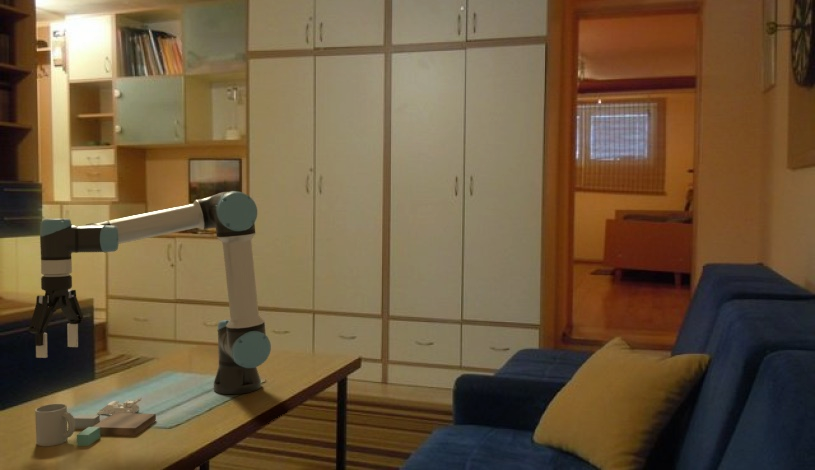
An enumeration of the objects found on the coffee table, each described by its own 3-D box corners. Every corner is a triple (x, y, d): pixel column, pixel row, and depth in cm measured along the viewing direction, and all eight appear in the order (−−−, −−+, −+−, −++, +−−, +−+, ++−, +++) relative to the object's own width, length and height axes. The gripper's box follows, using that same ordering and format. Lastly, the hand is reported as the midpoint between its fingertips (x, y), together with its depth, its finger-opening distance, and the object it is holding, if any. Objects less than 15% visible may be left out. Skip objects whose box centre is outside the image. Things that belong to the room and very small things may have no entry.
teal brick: (89, 438, 181) (88, 426, 180) (100, 438, 180) (100, 427, 180) (77, 446, 175) (76, 434, 174) (88, 446, 174) (88, 434, 174)
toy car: (104, 409, 205) (104, 395, 205) (144, 410, 205) (144, 396, 204) (94, 416, 199) (94, 401, 199) (135, 416, 199) (135, 402, 198)
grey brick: (99, 425, 190) (99, 414, 190) (94, 429, 188) (94, 418, 187) (78, 425, 191) (78, 414, 190) (72, 429, 188) (72, 418, 187)
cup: (48, 436, 181) (47, 403, 181) (83, 438, 180) (82, 404, 180) (29, 446, 174) (28, 411, 174) (66, 447, 173) (65, 413, 172)
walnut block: (155, 420, 194) (155, 413, 193) (135, 435, 182) (135, 428, 182) (115, 419, 195) (114, 412, 194) (92, 434, 183) (91, 427, 183)
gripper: (71, 270, 201) (72, 342, 202) (12, 279, 176) (14, 361, 177) (95, 270, 200) (96, 343, 201) (39, 280, 175) (41, 362, 176)
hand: (57, 352), depth 189 cm, fingers open, 13 cm apart
